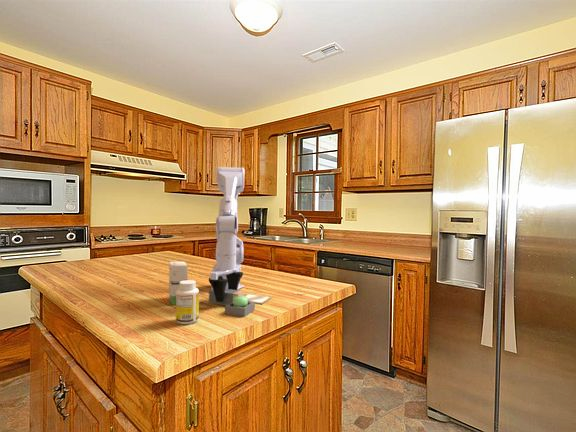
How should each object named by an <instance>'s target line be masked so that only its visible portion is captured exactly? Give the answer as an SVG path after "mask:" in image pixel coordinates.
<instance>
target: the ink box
mask: <svg viewBox="0 0 576 432" xmlns="http://www.w3.org/2000/svg"><path fill="white" fill-rule="evenodd" d="M168 268H169V269H168V270H169V272H168V275H169V276H168V277H169V278H168V293H169V295H168V298H169V301H170V303H171V305H172V306H176V291H177V290H178V289H180V288H179V284H180V282H181V281H184V280H189V277H188V274H189V272H188V270H189V269H188V264H187V263H186V262H185V261H169V262H168Z"/></svg>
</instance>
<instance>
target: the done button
mask: <svg viewBox="0 0 576 432" xmlns="http://www.w3.org/2000/svg"><path fill="white" fill-rule="evenodd" d="M247 305H248V297H246V295H244V296H235V297H234V298H233V306H236V307H243V308H244V307H245V306H247Z"/></svg>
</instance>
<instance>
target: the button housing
mask: <svg viewBox="0 0 576 432" xmlns="http://www.w3.org/2000/svg"><path fill="white" fill-rule="evenodd" d="M255 306H256V304H255V302H248V305H247V306H245V307H244V308H243V307H236V306H233V302H232V303H230V304H228V305H225V306H224V307H225V315H232V316H238V317H243V318H244V317H245V318H246V316H248V315H249V314H251V313H252V312H254V311H255V310H256V309H255V308H256V307H255Z"/></svg>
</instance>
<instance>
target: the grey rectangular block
mask: <svg viewBox="0 0 576 432" xmlns="http://www.w3.org/2000/svg"><path fill="white" fill-rule="evenodd" d="M235 296H245V291H244V290H241V289H238V290H232V289H225V295H224V301H223V302H217V301H216V298H215V294H214V290H213V289H210V290H208V304H217V305H223V306H226V305H228V304H230V303H232V302H233V298H234V297H235Z"/></svg>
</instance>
